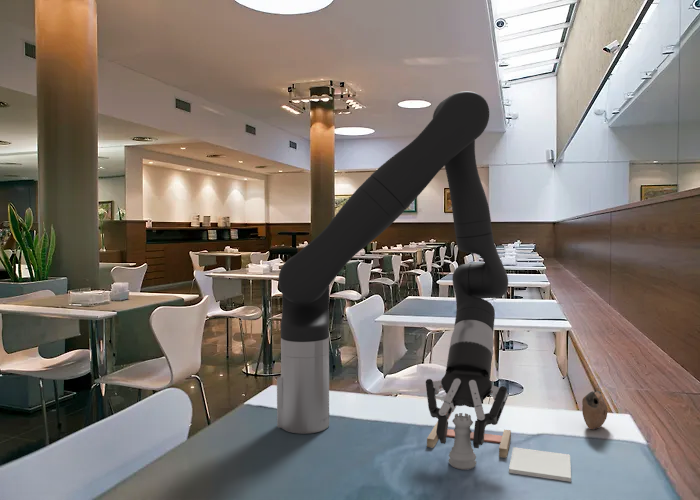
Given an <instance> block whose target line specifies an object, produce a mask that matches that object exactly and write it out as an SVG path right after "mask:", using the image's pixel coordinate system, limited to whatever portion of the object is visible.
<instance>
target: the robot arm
mask: <svg viewBox="0 0 700 500" xmlns="http://www.w3.org/2000/svg"><path fill="white" fill-rule="evenodd" d="M489 121H490V108H489V105H488V102H487V100H486V99H485V97H483V96H482V95H481V94H479V93H477V92H474V91H470V90H469V91H467V90H465V91H459V92H455V93H453V94H451V95H449V96H448V97H446V98H445V99H442V101H441V102H439V104H438V105H437V106H436V107H435V109H434V111H433V114H432V119H431V120H430V122H429V123H428V124H427V125H426V126H425V127H424V129H422V131H421V132H420V133H419V134H418V135H417V136H416V137H415V138H414V140H412V141H411V142H409V144H407V145H406V146H405V147H404V148H402V149H401V150H399V151H398V152H396V154H394V155H392V157H390V158H389V159H387V160H386V161H385V162H384V163H383V164H382V165H380V166H379V167H378V168H377V169H375V170H374V172H373V173H371V174H370V176H369V177H368V178H367V179H366V180H364V182H363V183H362V184H360V185H359V187H357V189H356V190H355V191H354V192H353V194H352V195H351V196H350V197H349V198H348V199H347V201H346V202H345V203H343V205H342V207H341V208H340V209H339V210H338V212H337V213H336V214H335V215H334V217H333V218H332V219H331V221H330V222H329V223H328V224H327V226H326V227H325V228H324V229H323V230H322V231H321V232H320V233H319V234H318V235H317V236H316V237H315V238H314V239H313V240H311V241H310V242H309V243H308V244H306V246H304V247H303V248H302V249H301V250H299V251H298V252H297V253H295V254H294V255H293V256H291V257H290V258H288V259H287V260H286V261H285V262H284V263H283V265H282V267H281V268H280V270H279V273H278V278H277V279H278V281H277V282H278V286H279V291H280V293H281V295H282V301H281V302H282V312H281V321H280V376H278V377H277V378H276V405H277V406H276V414H277V416H276V420H277V421H276V422H277V423H276V425H277V426H276V427H277V428H279V429H280V428H281V429H283V430H284V431H286V432H289V433H293V434H306V435H307V434H314V433H319V432H323V431H324V430H326V429H328V427H330V341H329V340H330V285H331V284H332V282H333V281H334V279H336V277H337V275H339V273H340V272H341V271H342V270H343V268H345V266H346V265H347V264H348V263H349V262H350V261H351V260H352V258H354V257H355V256H356V255H357V254H358V253H360V251H362V250H363V249H364V248H365V247H367V246H368V245H369V244H370V243H372V242H374V240H376V238H377V237H379V236H380V235H381V234H382V233H383V232H384V231H385V230H386V229H388V228H389V227H390V226H391V225H392V224H393V223H394V222H395V221H396V220H397V219H398V218H399V217H400V216H401V215H403V213H404V212H405V211H406V210H407V209H408V208H409V206H410V205H411V204H412V203H413V202H414V201H415V200H416V199H417V198H418V197H419V195H420V194H421V193H422V192H423V191H424V190H425V189H426V188H427V186H429V184H430V183H431V182H432V180H433V179H434V178H435V176H436V175H438V173H439V172H440V171H441V170H442V169H443V168H444V169H445V174H446V177H447V182H448V191H449V196H450V203H451V209H452V210H451V211H452V220H453V227H454V233H455V241H456V246H457V249H458V250H459V251H460V252H462V253H466V254H467V253H468V254H475V255H477V256H479V257H480V258H481V259H482V260H483V262H477V263H476V262H475V263H463V264H460V265H459V266H457V267H456V269H454V271H453V273H452V280H451V281H452V287H453V290H454V295H455V296H454V297H455V301H456V314H455V319H454V325H453V326H454V327H453V331H452V334H451V336H450V342H449V349H448V356H447V363H446V369H445V373H444V376H443V377H442V378H441V380H435V381H433V380H432V379H431V378H427V379H426V380H425V386H426V387H425V388H426V396H427V405H428V411H429V414H430V416H431V418H434V419H437V421H438V424H437V430H436V433H437V437H438V440H439V442H440V444H444V445H445V444H446V443H447V430H448V429H449V420H450V417H451V415H452V413H453V412H454V411H455V409H456V408H457V407H463V406H466V407H468V408H474V412H475V417H476V420H475V421H474V428H473V429H474V430H473V432H474V437H473V440H472V443H473V444H472V445H473V446H472V447H473V448H474V449H479V447H480V446H482V445H483V444H484V443H485V441H484V434H486V432H485V431H486V426H488V425H493V426H496V425H498V423H499V420H500V418H501V415H502V413H503V410H504V408H505V405H506V403H507V399H508V389H507V387H506V386H504V385H502V386H500V387H499V386H496V385H493V384H492V381H491V374H492V364H493V363H492V361H493V356H494V329H495V317H496V314H495V312H496V311H495V308H494V305H493V304H492V303H491V302H489V301H488V300H486V299H498V298H501V297H503V296H504V295H505V294H506V293H507V290H508V287H509V277H508V274H507V271H506V269H505V267H504V265H503V262H502V260H501V257H500V256H499V253H498V250H497V247H496V244H495V241H494V240H495V239H494V235H493V227H492V217H491V212H490V207H489V202H488V199H487V195H486V193H485V190H484V187H483V184H482V181H481V178H480V175H479V170H478V167H477V160H476V150H475V149H476V140H477V139H478V138H479V137H481V135H482V134H483V133H484V132H485V129H486V128H487V127H488V124H489ZM441 389H443V391H444V392H445V394H446V395H445V397H444V399H443V403H442V405H441V407H438V404H437V397H436V396H438V394H439V393H440V390H441ZM490 394H492V398H493V400H494V401H493V402H492V405H491V407H490V411H489V412H487V413H485V412H484V407H483V403H482V402H483V401H484V400H485V399H487V397H488V396H489V395H490Z"/></svg>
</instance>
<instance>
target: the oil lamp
mask: <svg viewBox="0 0 700 500" xmlns="http://www.w3.org/2000/svg"><path fill="white" fill-rule="evenodd" d="M581 405H582V406H581V407H582V408H581V409H582V410H581V411H582V412H581V413H582V417H583V420H584V422H585V425H586V426H587V427H588V429H590V430H594V429H595V430H597V429H599V428H602V426H604V424H605V421H606V420H607V417H608V405H607V403H606V401H605V399H604V397H603V394H602V391H601V390H597V391H590V392H589V393H587V394H586V395H584V396H583V398H582V400H581Z"/></svg>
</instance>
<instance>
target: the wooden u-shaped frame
mask: <svg viewBox="0 0 700 500" xmlns="http://www.w3.org/2000/svg"><path fill="white" fill-rule="evenodd" d="M437 424H438V420H437V421H436V422H435V424H434V426H433V428H432V430H431V431H430V433H429V434H428V436H427V437H426V447H427V448H430V449H431V448H432V449H434V448H435V447H436V445H437V443H438V441H439V439H438V437H437V433H436V430H437ZM447 437H448V438H455V432H454V429H451V428H450V429H449V428H448V430H447ZM447 437H446V438H447ZM473 437H474V431H472V432H471V433H470V439H471V440H472V441H473ZM511 439H512V430H511V429H503V433H502V435H499V434H490V433H484V442H487V443H493V444H499V446H498V450H499V452H498V454H499V455H498V457H499V458H502V459H503V458H504V459H507V458H508V453H509V449H510V444H511Z"/></svg>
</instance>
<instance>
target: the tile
mask: <svg viewBox="0 0 700 500" xmlns="http://www.w3.org/2000/svg"><path fill="white" fill-rule="evenodd" d="M509 462H510V463H509V466H508V467H509V468H508V473H509V474H514V475H516V474H517V475H521V476H529V477H536V478H542V479H550V480H556V481H563V482H570V483H572V470H571V469H572V467H571V455H570V454H568V453H567V454H566V453H560V452H553V451H545V450H537V449H536V450H535V449H529V448H521V447H516V446H514V447H513V446H512V452H511V456H510V461H509Z"/></svg>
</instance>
